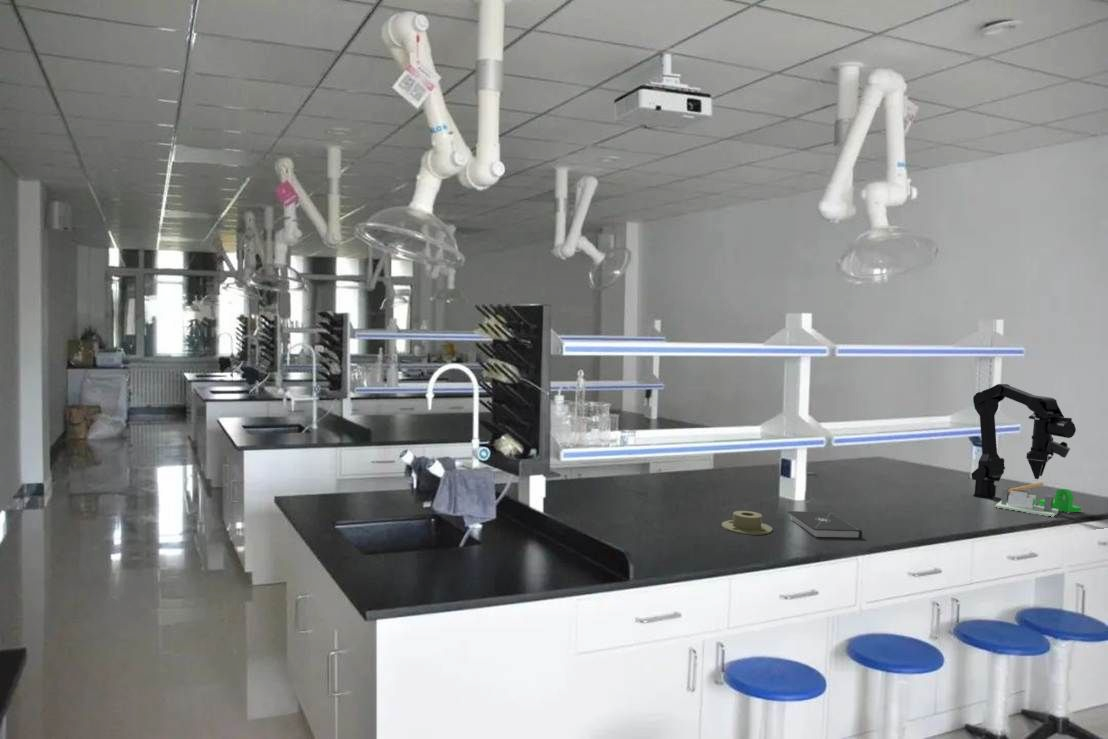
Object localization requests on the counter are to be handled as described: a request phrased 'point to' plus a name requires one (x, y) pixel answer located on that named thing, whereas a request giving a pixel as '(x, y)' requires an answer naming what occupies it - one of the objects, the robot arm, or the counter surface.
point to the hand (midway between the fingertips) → (1038, 477)
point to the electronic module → (1024, 499)
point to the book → (825, 524)
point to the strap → (1026, 486)
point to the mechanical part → (1060, 502)
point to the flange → (747, 523)
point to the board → (1035, 510)
